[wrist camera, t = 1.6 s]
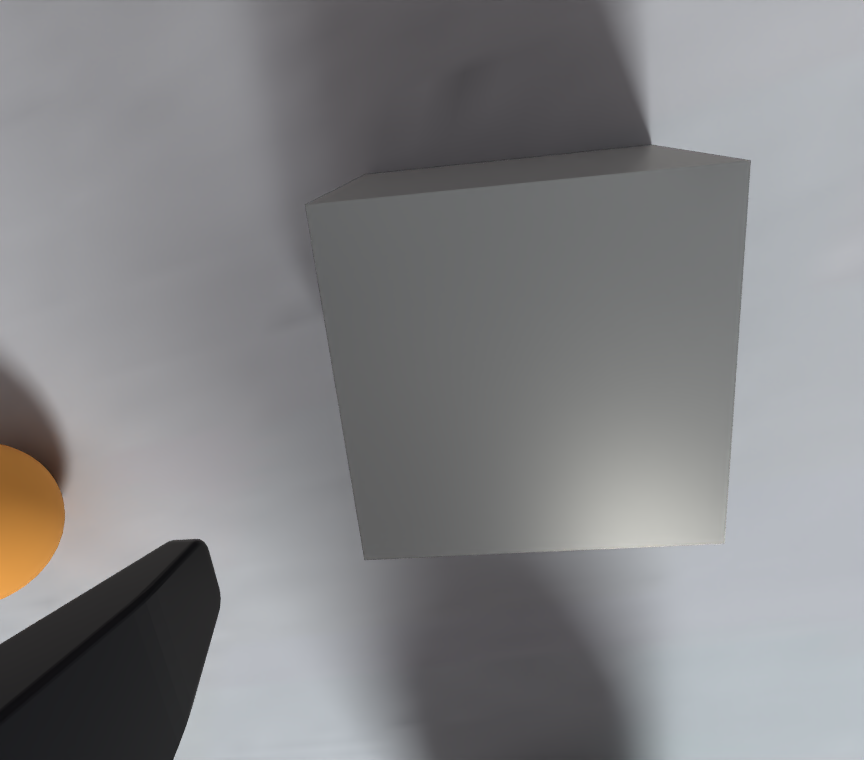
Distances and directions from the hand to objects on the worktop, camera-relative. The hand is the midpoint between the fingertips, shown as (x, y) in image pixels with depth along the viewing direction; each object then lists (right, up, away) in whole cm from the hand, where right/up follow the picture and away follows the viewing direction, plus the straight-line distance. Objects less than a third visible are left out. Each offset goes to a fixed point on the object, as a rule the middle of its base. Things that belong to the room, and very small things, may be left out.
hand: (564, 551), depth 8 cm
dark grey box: (+1, +4, +11) cm, 12 cm away
